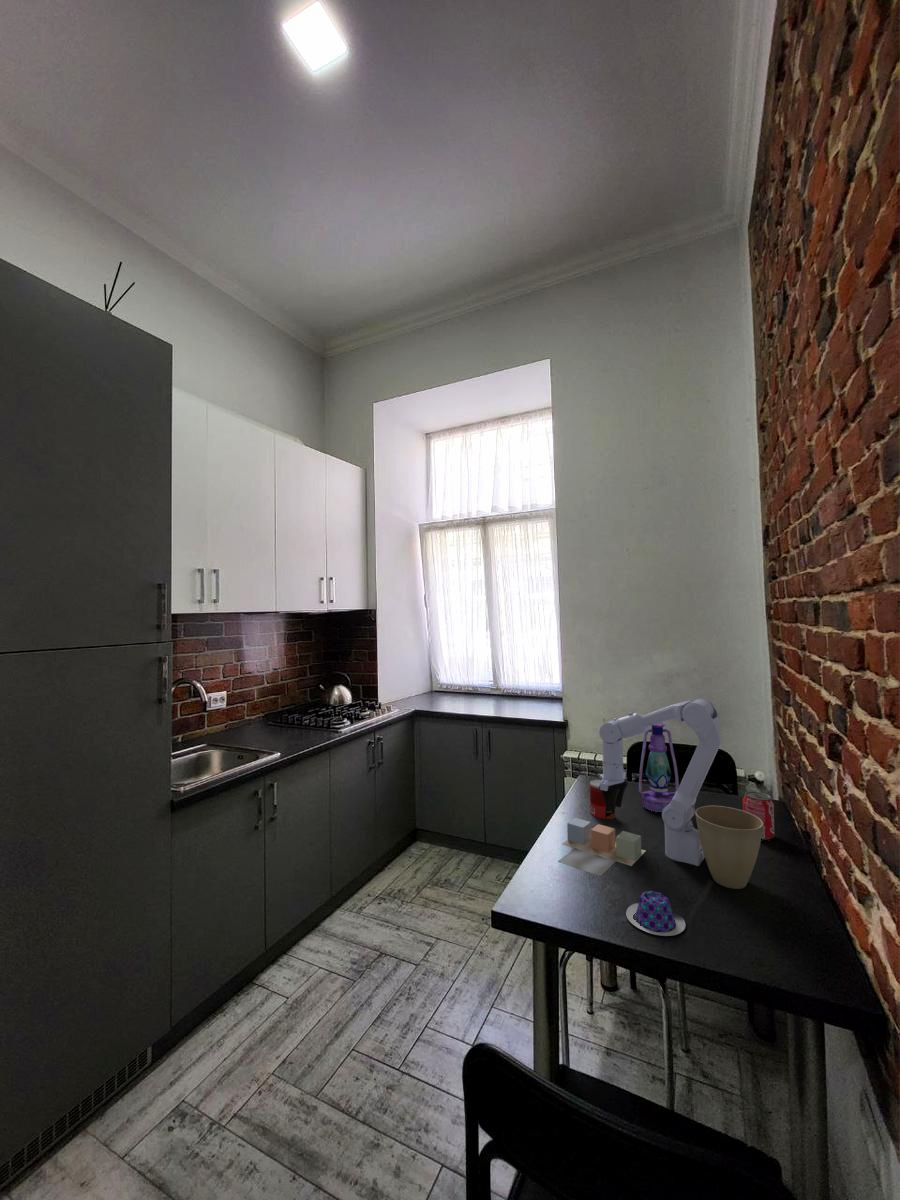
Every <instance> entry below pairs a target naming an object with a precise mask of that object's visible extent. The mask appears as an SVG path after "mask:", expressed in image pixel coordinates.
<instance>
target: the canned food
mask: <svg viewBox="0 0 900 1200" xmlns="http://www.w3.org/2000/svg"><path fill="white" fill-rule="evenodd" d="M601 782H602V779H594V780H590V782H589V807H590V808H589V809H590V812H589V813H590V815H591V816H593V817H594V818H597V819H603V820H604V819H606V820H608V819H609V820H611V821H614V820H615V819H616V811H615V812H611V811H607V808H606V805H605V801H604V798H603V795H602V793H601V791H600V790H599V786H600V783H601ZM613 819H614V820H613Z"/></svg>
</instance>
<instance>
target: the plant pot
mask: <svg viewBox="0 0 900 1200" xmlns="http://www.w3.org/2000/svg"><path fill="white" fill-rule="evenodd" d="M694 815H695V819H696V825H697V827H696V828H697V830H698V832H699V837H700V841H701V845H702V849H703V852H704V859H705V861H706V864H707V867H708V870H709V872H710V875H711V877H712V880H713V881H714V882H716V884H718V885H721V886H723V887H725V888H727V889H735V890H740V889H744V888H746V886H748V885H747V884H748V882H749V880H750V877H752V873H753V870H754V867H755V865H756V862H757V858H758V855H759V850H760V847H761V841H762V840H761V836H762V830H763V822H762V820H761V819H760V818H758V817H757V816H755V815H753V814H751V813H748V812H746V811H743V809H738V808H734V807H730V806H729V807H728V806H723V805H703V806H700V807H698V808H696V809H695V813H694Z"/></svg>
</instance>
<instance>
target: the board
mask: <svg viewBox="0 0 900 1200" xmlns="http://www.w3.org/2000/svg"><path fill="white" fill-rule="evenodd" d="M562 845H565V846H568V847H571V848H573V849H571V850H570V851H569V852H568V853H567V854H565V855H564V856H562V857H561V858H560V859H559V860H557V863H560V864H563V865H566V866H569V867H572V868H575V869H577V870H581V871H583V872H586V873H589V874H591V875H596V876H598V877H602V876H603V875H604V874H605V873H606V872H607V871H609V869H610V868H611V867H612V866H614V864H615V863H616V862H617V863H619V864H623V865H627V866H629V867H632V866H633V865H634V864H635V863H636V862H637V861H638V860H639V859H640V858H641V857H642V856H643V855H644V854H645V852H647V851H646V850H645V849H642V848H641V855H640V856H639V857H638V858H637V859H636V861H632V860H629V859H626V858H622V857H619V856H616V841H615V847H614V848H613V849H612V850H611V851H610V852H609V853H606V852H603V851H600V850H597V849H594V848H591V840H590V841H588V842H587V843H586V844H585V845H581V844H578V843H574V842H571V841H568V839H567V840H565V841H564V842H562Z"/></svg>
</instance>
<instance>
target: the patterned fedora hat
mask: <svg viewBox="0 0 900 1200" xmlns="http://www.w3.org/2000/svg"><path fill="white" fill-rule="evenodd" d="M672 910H673V909H672V906H671V902H670V900H669V898H668V897H667V896H666V895H663V893H661V892H656V891H655V890H650V891H643V892H642V894H641V895H640V896H639V899H638V903H637V902H636V903H633V904H631V905H630V906H628V908H627V909H626V912H625V914H626V917H627V920H628V921H629V922H630V923H631V924H632V925H633V926H635V928H637V929H639V930H642V931H644V932H646V933H648V934H650V935H651V934H652V935H655V936H661V937H663V936H664V937H669V936H671V937H673V936H676V935H679V934H681V933H682V932H684V931H685V929H686V922H685V919H684V918H683V917H682V915H681V914H677V913H674V912H673V911H672ZM635 913H636V914H635ZM634 914H635V917H636V918H637V919H638V920H637V919H636V918H635V919H636V920H634V919H633V915H634ZM674 920H675V921H674ZM636 921H637V922H636ZM638 922H639V923H638ZM640 925H641V926H640Z"/></svg>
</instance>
